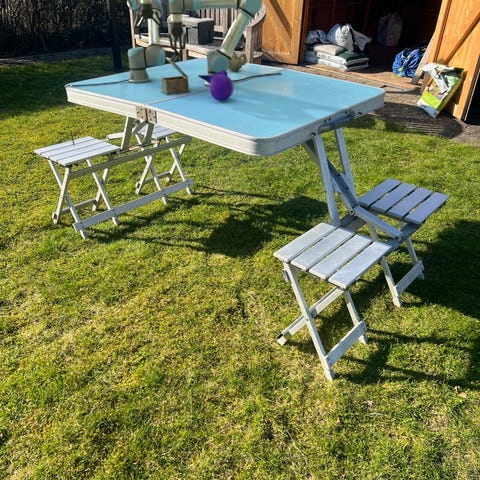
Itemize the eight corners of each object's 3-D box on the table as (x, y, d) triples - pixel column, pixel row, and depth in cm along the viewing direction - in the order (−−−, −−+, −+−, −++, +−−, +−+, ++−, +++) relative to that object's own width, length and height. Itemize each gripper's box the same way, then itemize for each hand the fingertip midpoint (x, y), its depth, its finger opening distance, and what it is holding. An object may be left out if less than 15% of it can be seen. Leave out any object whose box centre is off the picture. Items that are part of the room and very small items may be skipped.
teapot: (227, 73, 359) (226, 53, 351) (220, 71, 367) (219, 51, 360) (250, 70, 368) (249, 51, 360) (242, 68, 376) (242, 49, 369)
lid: (170, 60, 289) (179, 50, 288) (165, 58, 298) (174, 48, 297) (187, 78, 299) (196, 68, 298) (182, 75, 307) (190, 66, 307)
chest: (167, 94, 298) (165, 80, 294) (162, 91, 307) (161, 78, 302) (189, 92, 303) (188, 78, 299) (183, 89, 312) (182, 75, 308)
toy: (220, 92, 299) (233, 106, 278) (195, 88, 292) (206, 102, 271) (226, 68, 291) (240, 80, 270) (200, 63, 284) (212, 75, 263)
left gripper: (128, 4, 290) (133, 40, 300) (166, 2, 298) (169, 37, 309) (126, 3, 295) (130, 38, 306) (162, 2, 304) (166, 36, 315)
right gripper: (166, 22, 279) (170, 62, 291) (189, 21, 284) (191, 61, 296) (163, 21, 285) (166, 61, 297) (185, 20, 290) (187, 59, 302)
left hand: (150, 38), depth 308 cm, fingers open, 13 cm apart
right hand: (179, 60), depth 297 cm, fingers closed on lid, 2 cm apart
